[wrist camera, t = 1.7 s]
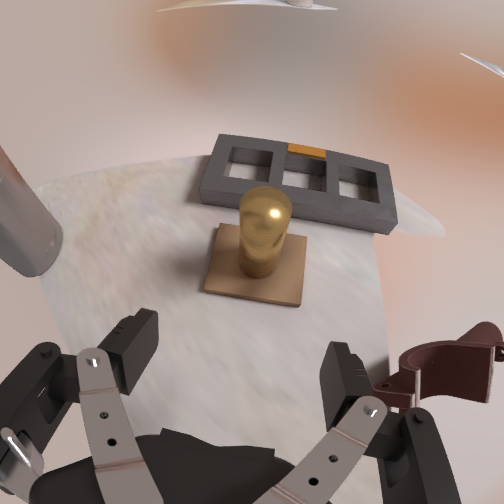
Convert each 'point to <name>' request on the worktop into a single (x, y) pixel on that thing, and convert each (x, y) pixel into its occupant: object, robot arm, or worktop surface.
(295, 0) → the toilet tissue
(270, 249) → the gold domed cylinder
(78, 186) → the worktop surface
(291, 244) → the tan rectangular plate
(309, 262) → the worktop surface
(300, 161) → the grey flat frame
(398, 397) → the bracket
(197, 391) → the worktop surface
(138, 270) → the worktop surface
